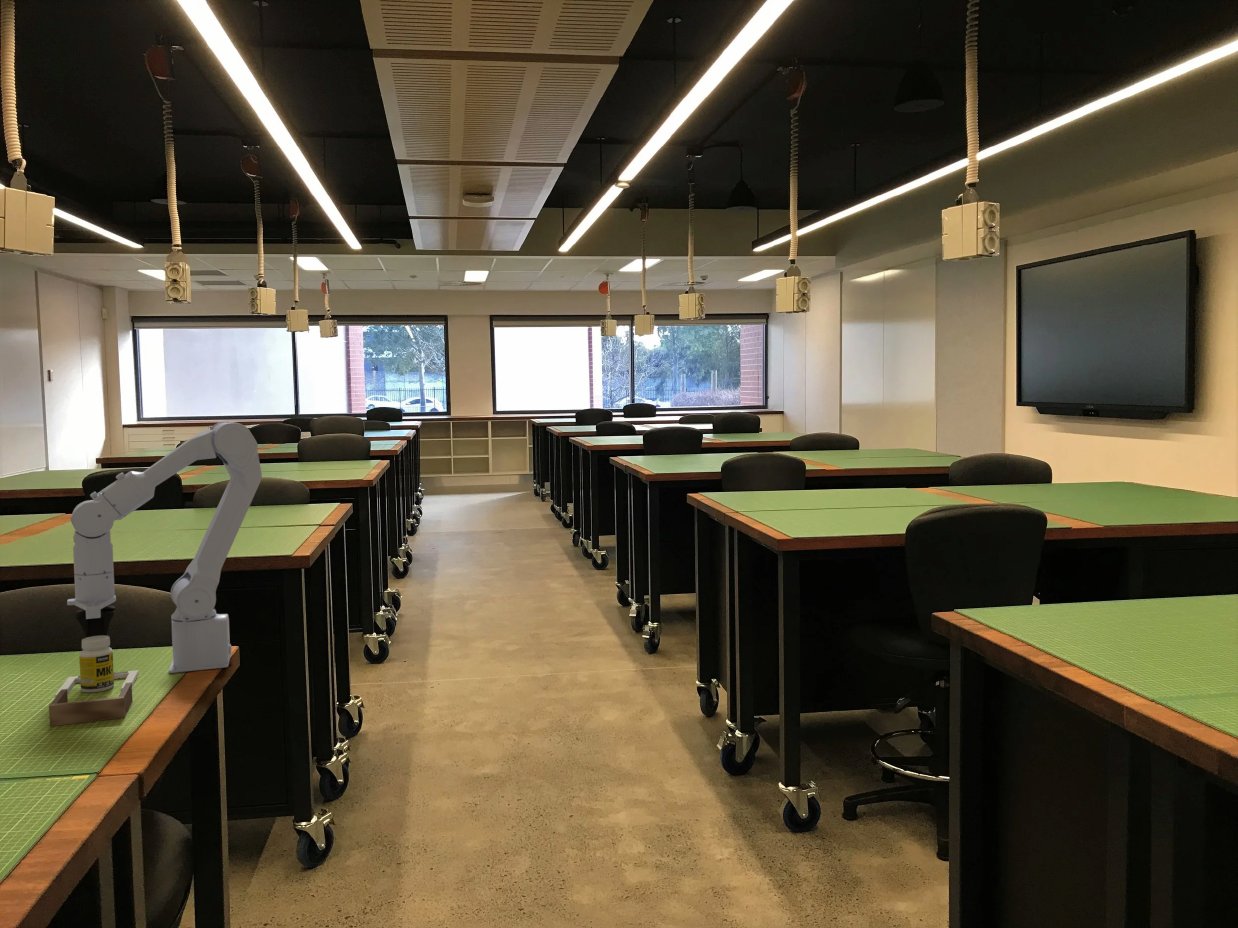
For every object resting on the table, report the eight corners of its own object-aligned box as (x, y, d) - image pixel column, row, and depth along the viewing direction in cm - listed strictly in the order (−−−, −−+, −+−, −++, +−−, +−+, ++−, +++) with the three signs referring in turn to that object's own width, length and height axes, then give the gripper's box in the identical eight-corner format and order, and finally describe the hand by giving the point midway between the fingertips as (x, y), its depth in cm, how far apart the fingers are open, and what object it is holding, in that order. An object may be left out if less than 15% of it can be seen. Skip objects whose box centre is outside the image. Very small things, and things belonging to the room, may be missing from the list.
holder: (132, 700, 140) (131, 682, 140) (124, 717, 133) (123, 697, 133) (62, 708, 137) (61, 689, 137) (49, 726, 130) (48, 705, 129)
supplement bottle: (98, 694, 144) (96, 642, 143) (73, 692, 144) (71, 641, 144) (121, 684, 148) (118, 635, 148) (96, 682, 149) (94, 633, 149)
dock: (138, 674, 154) (138, 669, 153) (129, 691, 144) (129, 686, 144) (68, 681, 150) (68, 676, 150) (55, 699, 141) (55, 694, 141)
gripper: (69, 566, 154) (72, 643, 155) (62, 582, 141) (66, 666, 142) (116, 563, 157) (119, 638, 158) (113, 578, 144) (116, 660, 145)
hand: (97, 651), depth 150 cm, fingers closed
